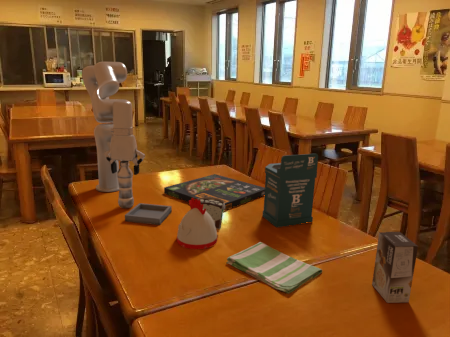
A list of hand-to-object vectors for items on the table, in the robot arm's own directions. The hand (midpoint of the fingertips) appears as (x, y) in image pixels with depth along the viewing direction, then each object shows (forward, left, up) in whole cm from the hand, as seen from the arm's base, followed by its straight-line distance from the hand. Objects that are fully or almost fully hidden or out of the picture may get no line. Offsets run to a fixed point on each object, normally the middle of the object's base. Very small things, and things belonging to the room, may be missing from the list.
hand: (125, 173), depth 154 cm
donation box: (-6, +66, -15) cm, 68 cm away
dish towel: (+35, +64, -16) cm, 75 cm away
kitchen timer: (+23, +37, -15) cm, 46 cm away
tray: (+7, +13, -15) cm, 21 cm away
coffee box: (+42, +96, -15) cm, 105 cm away
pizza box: (-28, +33, -16) cm, 46 cm away
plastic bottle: (0, 0, -15) cm, 15 cm away
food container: (+8, +39, -15) cm, 42 cm away
